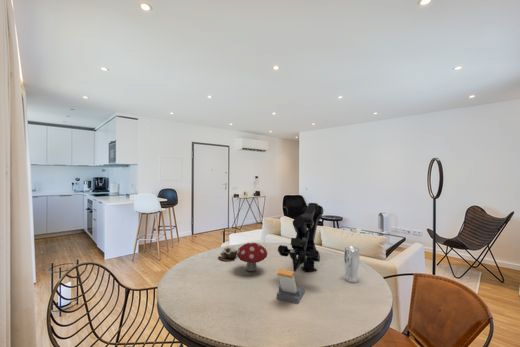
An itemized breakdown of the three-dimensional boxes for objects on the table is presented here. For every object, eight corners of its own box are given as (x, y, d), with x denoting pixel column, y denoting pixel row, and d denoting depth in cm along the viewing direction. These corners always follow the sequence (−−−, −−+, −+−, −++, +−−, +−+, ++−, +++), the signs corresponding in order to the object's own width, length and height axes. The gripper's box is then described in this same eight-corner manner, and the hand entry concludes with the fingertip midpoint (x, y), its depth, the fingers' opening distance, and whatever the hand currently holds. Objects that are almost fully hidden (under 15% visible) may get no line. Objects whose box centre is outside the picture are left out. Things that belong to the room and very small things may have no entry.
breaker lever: (283, 287, 101) (278, 268, 96) (297, 290, 99) (293, 271, 93) (282, 292, 100) (277, 272, 94) (296, 295, 97) (291, 275, 92)
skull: (214, 259, 139) (218, 242, 146) (219, 266, 147) (223, 250, 153) (233, 260, 136) (237, 243, 143) (238, 267, 144) (241, 251, 150)
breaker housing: (284, 288, 107) (284, 279, 107) (304, 292, 103) (304, 283, 103) (276, 298, 98) (276, 288, 98) (298, 303, 94) (298, 293, 94)
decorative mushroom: (273, 271, 125) (273, 242, 125) (251, 281, 114) (252, 249, 114) (251, 263, 136) (251, 236, 136) (229, 271, 124) (230, 242, 124)
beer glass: (360, 283, 112) (360, 251, 112) (344, 282, 113) (345, 250, 113) (357, 277, 119) (357, 247, 119) (342, 276, 120) (343, 246, 120)
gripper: (279, 228, 114) (269, 259, 104) (318, 232, 106) (313, 266, 96) (284, 240, 121) (276, 270, 111) (322, 245, 113) (317, 278, 103)
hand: (294, 271), depth 105 cm, fingers closed
